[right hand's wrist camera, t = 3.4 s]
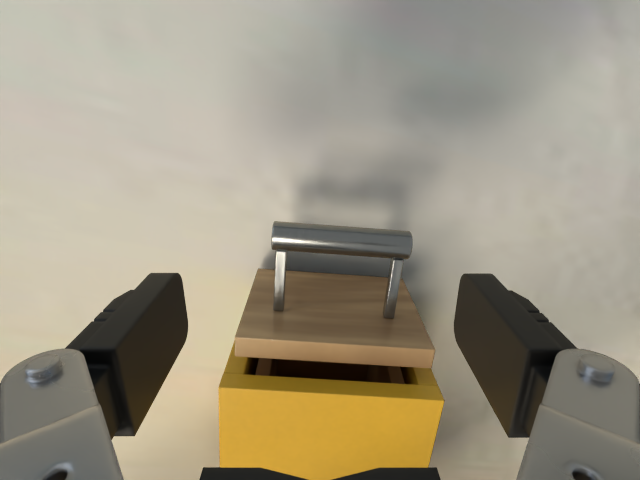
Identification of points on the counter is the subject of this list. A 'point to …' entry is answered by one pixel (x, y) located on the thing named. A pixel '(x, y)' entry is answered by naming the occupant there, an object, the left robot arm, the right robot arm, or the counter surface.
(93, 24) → the counter surface
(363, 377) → the drawer
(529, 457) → the right robot arm
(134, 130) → the counter surface
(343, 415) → the cabinet
